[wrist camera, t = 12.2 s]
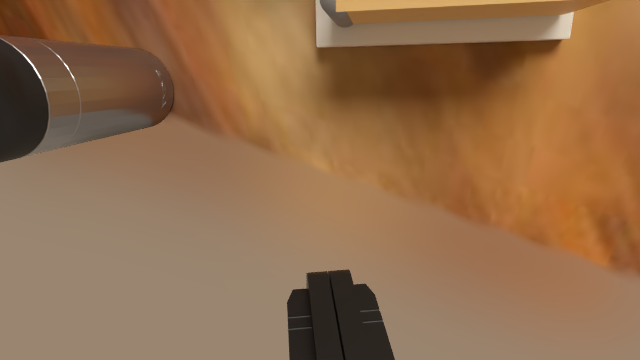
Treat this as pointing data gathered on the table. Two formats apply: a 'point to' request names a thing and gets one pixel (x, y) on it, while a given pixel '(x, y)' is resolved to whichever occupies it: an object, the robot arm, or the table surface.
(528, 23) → the white grey slotted rack
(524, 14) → the leaning tan board
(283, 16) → the table surface
